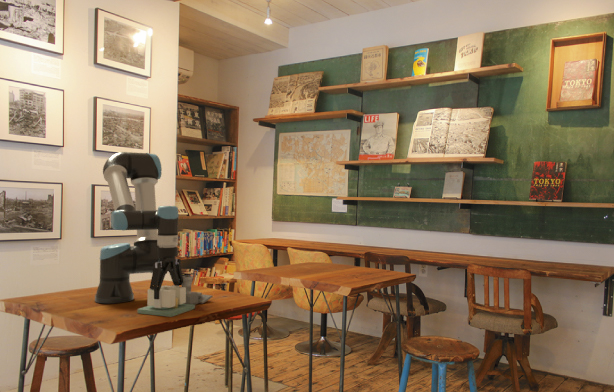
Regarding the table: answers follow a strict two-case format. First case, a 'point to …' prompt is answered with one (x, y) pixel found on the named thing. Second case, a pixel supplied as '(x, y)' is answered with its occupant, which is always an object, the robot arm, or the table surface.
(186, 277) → the camera
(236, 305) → the table surface
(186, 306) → the board
